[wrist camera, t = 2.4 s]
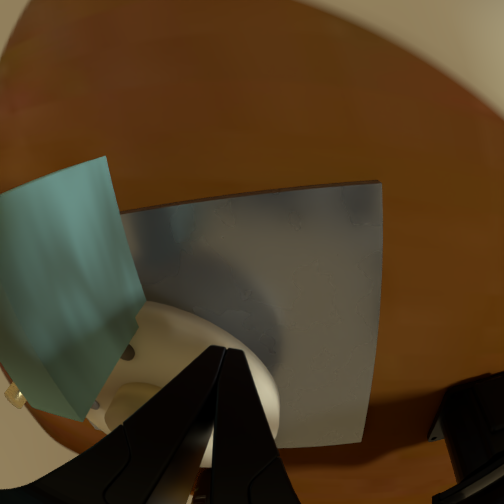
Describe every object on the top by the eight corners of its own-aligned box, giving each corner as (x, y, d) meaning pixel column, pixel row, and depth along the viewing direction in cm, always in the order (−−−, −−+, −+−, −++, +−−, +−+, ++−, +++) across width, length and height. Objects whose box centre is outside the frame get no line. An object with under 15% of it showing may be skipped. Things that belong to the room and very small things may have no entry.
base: (360, 435, 19) (367, 505, 14) (97, 424, 23) (72, 474, 17) (377, 180, 12) (438, 231, 7) (-1, 237, 16) (-64, 280, 10)
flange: (288, 454, 16) (282, 540, 11) (117, 439, 18) (88, 505, 13) (237, 127, 9) (168, 146, 4) (-5, 194, 11) (-98, 244, 6)
